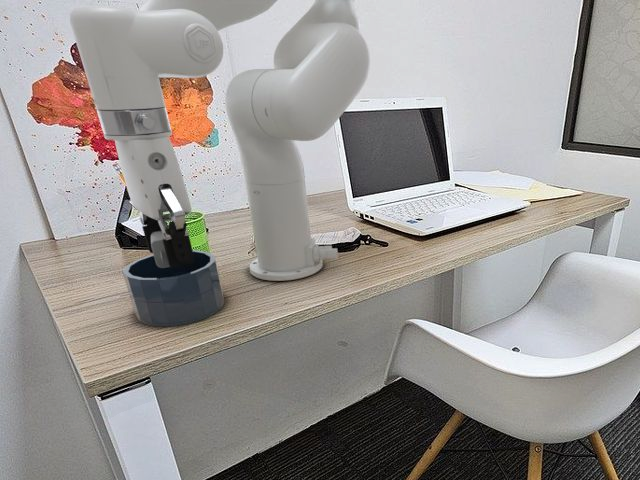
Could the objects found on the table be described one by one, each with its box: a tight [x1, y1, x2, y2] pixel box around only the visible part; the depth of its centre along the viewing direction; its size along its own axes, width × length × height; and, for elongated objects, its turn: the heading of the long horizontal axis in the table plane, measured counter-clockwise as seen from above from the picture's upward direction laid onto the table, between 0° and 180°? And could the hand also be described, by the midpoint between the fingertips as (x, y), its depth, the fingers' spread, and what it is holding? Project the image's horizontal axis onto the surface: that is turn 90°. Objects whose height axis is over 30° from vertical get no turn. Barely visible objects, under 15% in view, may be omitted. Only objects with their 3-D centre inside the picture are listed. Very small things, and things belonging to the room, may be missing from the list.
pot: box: [122, 249, 225, 328], centre depth 69 cm, size 12×12×7 cm
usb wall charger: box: [151, 231, 170, 268], centre depth 66 cm, size 4×7×4 cm, turn 28°
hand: (171, 257), depth 67 cm, fingers closed on usb wall charger, 7 cm apart
